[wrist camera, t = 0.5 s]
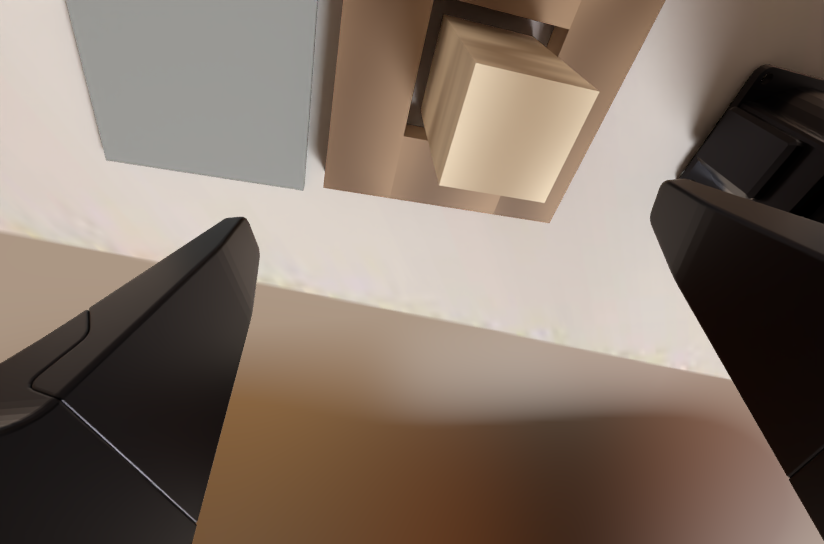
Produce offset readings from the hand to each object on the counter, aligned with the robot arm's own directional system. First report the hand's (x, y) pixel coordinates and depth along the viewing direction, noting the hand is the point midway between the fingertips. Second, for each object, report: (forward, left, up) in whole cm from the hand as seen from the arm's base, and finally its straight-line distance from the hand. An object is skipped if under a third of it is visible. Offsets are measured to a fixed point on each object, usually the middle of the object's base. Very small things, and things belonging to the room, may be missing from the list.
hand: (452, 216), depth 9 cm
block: (-3, 0, -12) cm, 12 cm away
